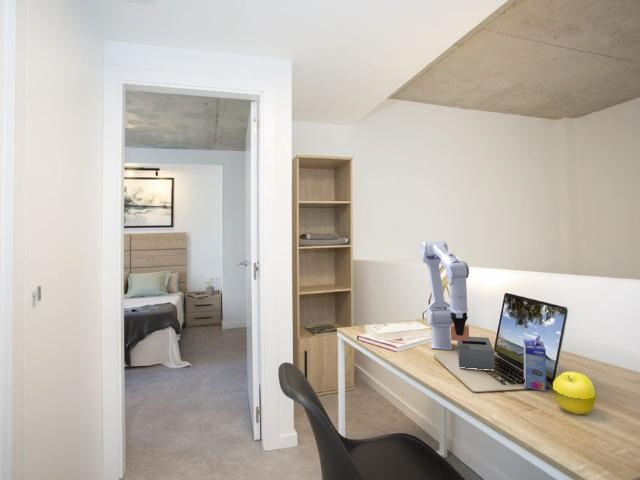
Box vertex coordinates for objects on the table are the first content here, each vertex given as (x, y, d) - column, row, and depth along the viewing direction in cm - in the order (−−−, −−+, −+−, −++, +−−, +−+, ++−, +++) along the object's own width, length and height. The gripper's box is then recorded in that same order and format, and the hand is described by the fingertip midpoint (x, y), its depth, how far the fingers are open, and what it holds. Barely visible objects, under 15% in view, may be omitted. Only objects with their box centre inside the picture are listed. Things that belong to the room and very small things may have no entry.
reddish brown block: (451, 338, 127) (450, 324, 127) (468, 339, 125) (468, 325, 125) (451, 340, 125) (450, 326, 125) (469, 341, 123) (468, 327, 123)
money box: (457, 354, 135) (457, 335, 135) (489, 356, 131) (488, 337, 131) (459, 368, 120) (458, 348, 120) (494, 371, 116) (494, 350, 116)
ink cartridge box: (547, 392, 99) (545, 341, 100) (525, 389, 102) (523, 339, 102) (544, 379, 108) (542, 333, 108) (523, 377, 111) (521, 331, 111)
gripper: (446, 293, 133) (447, 328, 133) (446, 299, 120) (447, 338, 120) (466, 293, 131) (467, 329, 131) (468, 299, 117) (469, 340, 117)
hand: (459, 334), depth 125 cm, fingers closed on reddish brown block, 2 cm apart
